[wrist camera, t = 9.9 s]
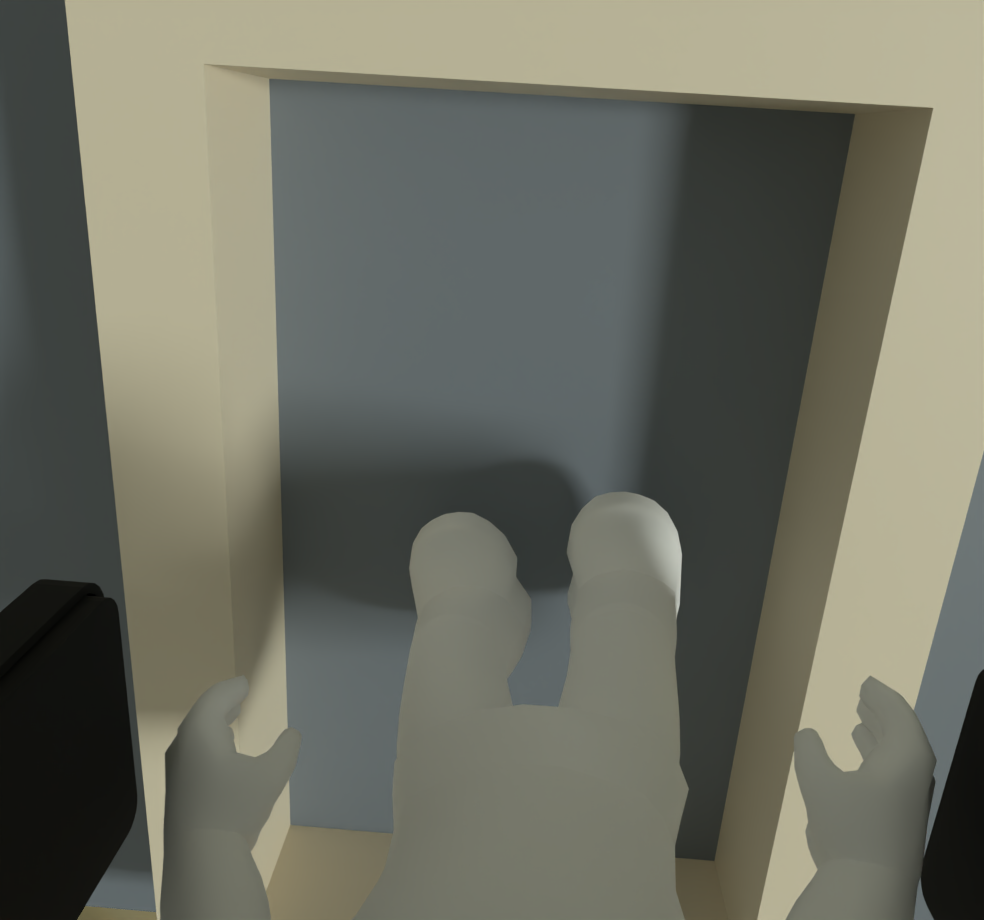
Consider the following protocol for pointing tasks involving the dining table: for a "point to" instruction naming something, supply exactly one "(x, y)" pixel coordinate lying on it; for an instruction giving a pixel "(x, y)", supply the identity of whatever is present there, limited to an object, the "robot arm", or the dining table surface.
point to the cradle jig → (498, 373)
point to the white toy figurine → (546, 756)
